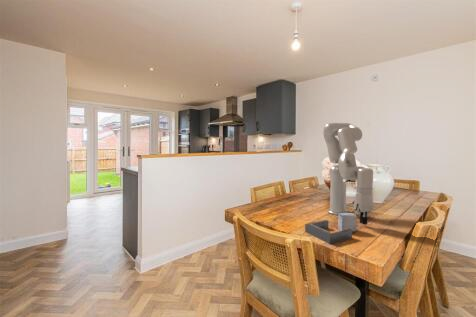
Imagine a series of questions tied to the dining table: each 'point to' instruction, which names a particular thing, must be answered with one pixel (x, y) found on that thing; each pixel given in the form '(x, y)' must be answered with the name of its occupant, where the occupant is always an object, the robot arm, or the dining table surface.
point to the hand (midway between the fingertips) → (363, 223)
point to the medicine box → (347, 221)
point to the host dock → (319, 232)
